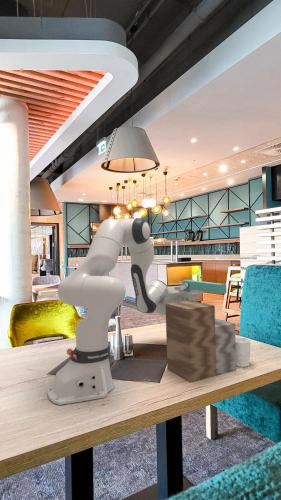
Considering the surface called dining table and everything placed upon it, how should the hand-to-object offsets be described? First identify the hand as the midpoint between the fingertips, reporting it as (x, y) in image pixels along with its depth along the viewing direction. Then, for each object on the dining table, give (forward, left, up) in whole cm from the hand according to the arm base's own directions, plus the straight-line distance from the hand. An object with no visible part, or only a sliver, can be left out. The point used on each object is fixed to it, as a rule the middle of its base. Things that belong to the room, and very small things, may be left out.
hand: (192, 284), depth 141 cm
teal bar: (0, -7, -2) cm, 7 cm away
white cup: (+10, -17, -32) cm, 38 cm away
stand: (-7, -13, -32) cm, 35 cm away
